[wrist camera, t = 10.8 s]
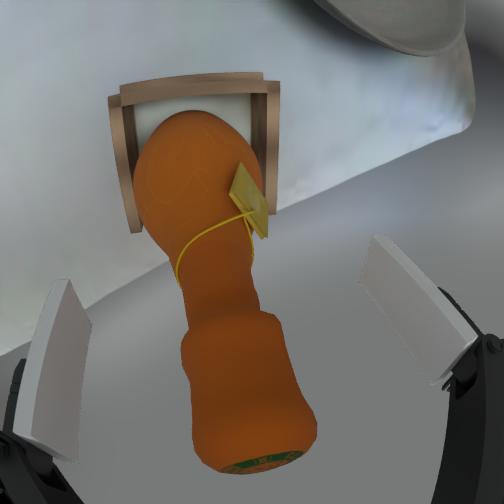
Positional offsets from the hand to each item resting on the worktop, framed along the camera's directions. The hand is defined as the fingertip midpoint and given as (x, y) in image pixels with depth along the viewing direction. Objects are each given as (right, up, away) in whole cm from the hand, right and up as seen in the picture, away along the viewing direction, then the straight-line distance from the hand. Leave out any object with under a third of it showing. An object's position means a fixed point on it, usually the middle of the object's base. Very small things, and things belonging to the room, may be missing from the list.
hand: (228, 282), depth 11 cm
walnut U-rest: (-6, +14, +18) cm, 24 cm away
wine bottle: (-6, +13, +18) cm, 23 cm away
